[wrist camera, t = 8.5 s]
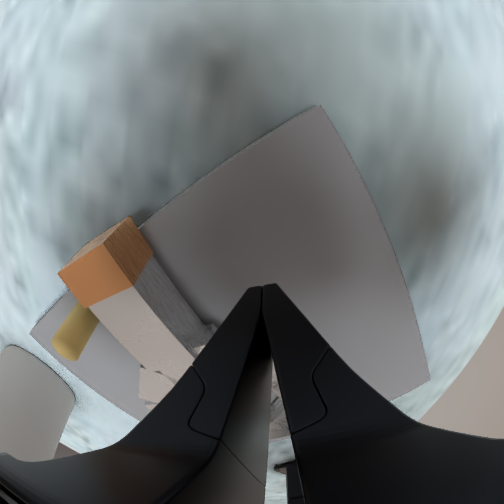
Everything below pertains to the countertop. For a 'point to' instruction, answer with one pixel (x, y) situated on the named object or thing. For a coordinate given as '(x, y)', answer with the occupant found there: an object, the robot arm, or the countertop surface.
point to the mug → (31, 406)
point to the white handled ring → (145, 312)
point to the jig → (268, 263)
